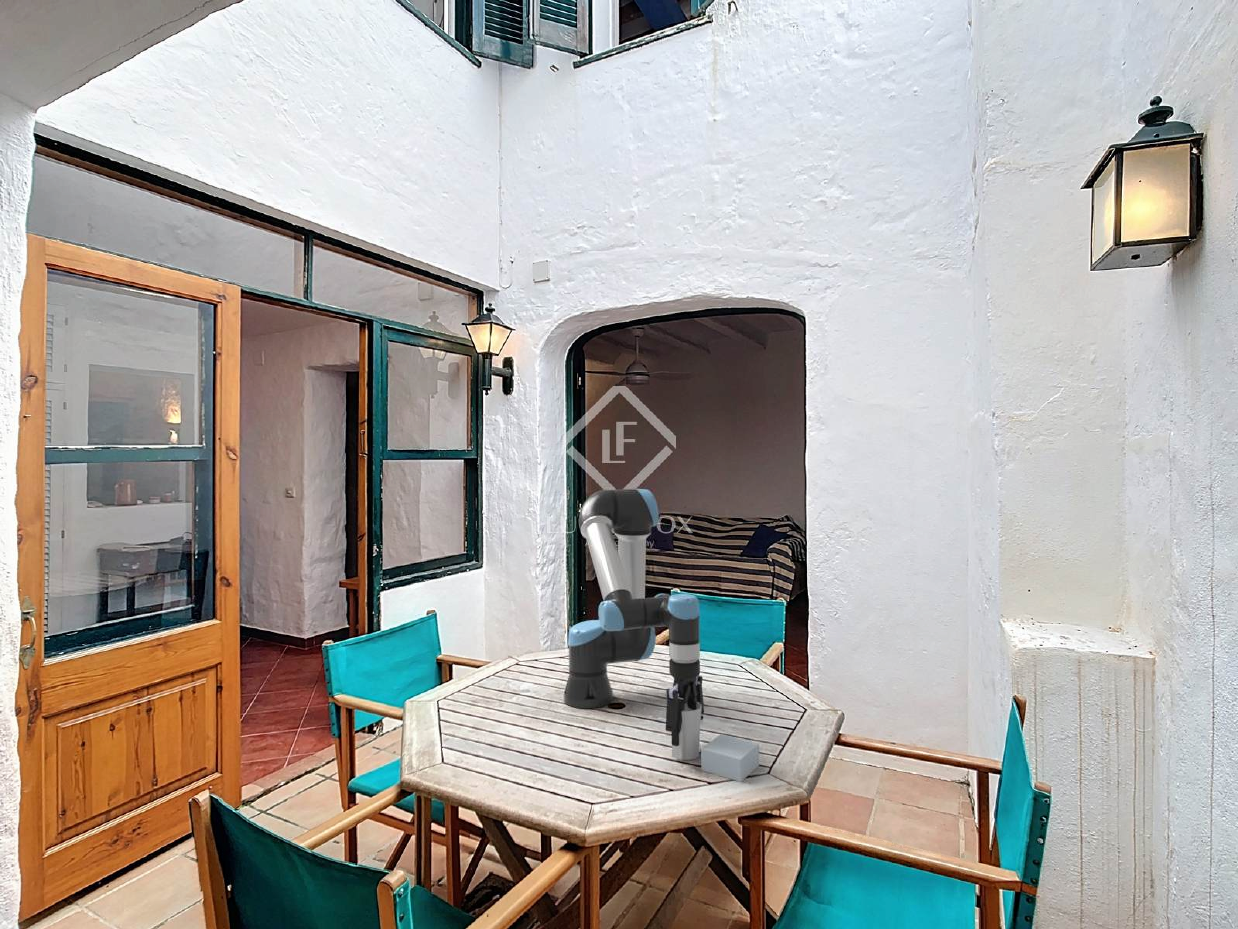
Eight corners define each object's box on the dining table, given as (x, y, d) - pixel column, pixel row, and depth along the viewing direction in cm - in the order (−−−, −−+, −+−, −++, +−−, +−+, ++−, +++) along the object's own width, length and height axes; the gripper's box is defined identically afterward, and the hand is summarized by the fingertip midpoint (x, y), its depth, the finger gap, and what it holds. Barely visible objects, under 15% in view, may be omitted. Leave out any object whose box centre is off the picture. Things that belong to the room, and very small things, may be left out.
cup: (664, 750, 160) (663, 702, 160) (693, 744, 163) (692, 697, 163) (678, 764, 152) (677, 713, 152) (708, 758, 155) (707, 708, 155)
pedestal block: (721, 754, 157) (720, 734, 157) (759, 765, 151) (758, 743, 151) (701, 770, 149) (701, 748, 149) (740, 782, 143) (740, 759, 143)
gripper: (691, 646, 168) (693, 733, 168) (649, 666, 152) (650, 763, 152) (717, 651, 164) (718, 740, 163) (676, 672, 147) (677, 772, 147)
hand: (686, 751), depth 158 cm, fingers closed on cup, 7 cm apart
